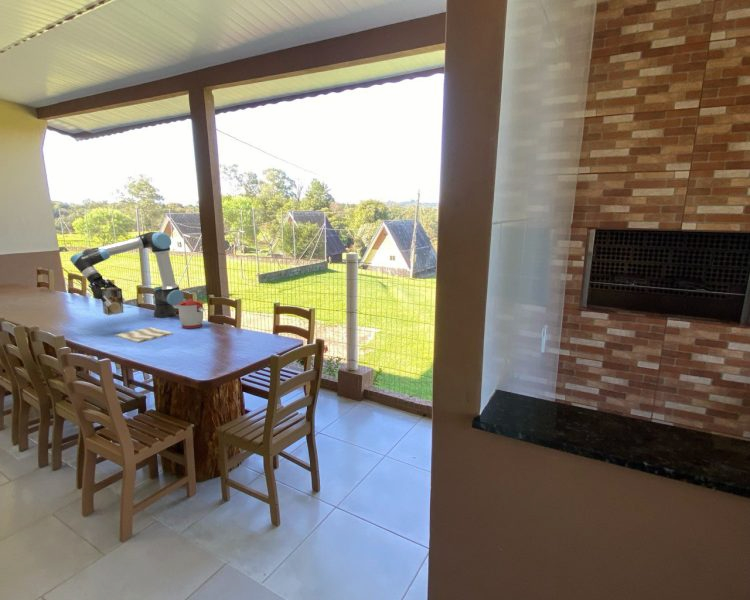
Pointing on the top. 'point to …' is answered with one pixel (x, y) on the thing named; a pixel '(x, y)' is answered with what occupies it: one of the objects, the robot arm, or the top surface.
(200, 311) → the citrus juicer
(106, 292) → the coffee box
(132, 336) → the striped cloth
